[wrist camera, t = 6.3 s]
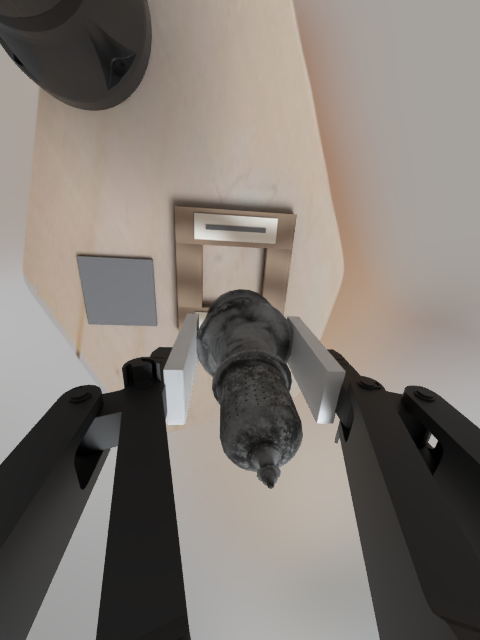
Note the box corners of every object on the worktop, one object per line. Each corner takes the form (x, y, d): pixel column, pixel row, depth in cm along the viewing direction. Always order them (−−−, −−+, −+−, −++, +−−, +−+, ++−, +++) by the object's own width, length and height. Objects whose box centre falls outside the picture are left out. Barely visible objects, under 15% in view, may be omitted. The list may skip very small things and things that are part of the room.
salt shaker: (188, 300, 17) (119, 444, 6) (268, 273, 16) (363, 368, 5) (217, 368, 19) (208, 570, 8) (288, 345, 19) (386, 521, 7)
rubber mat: (78, 255, 33) (76, 256, 32) (152, 259, 34) (152, 260, 33) (90, 323, 36) (88, 324, 36) (157, 325, 37) (156, 326, 37)
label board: (176, 207, 32) (173, 205, 30) (294, 215, 33) (297, 214, 31) (180, 331, 38) (178, 335, 36) (279, 334, 39) (281, 338, 38)
